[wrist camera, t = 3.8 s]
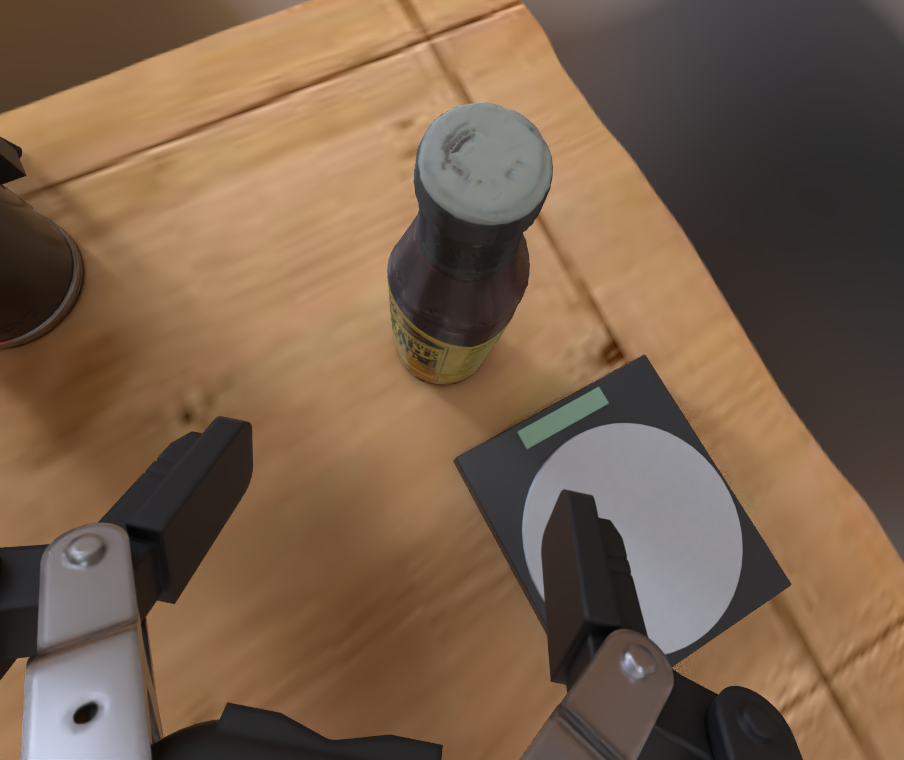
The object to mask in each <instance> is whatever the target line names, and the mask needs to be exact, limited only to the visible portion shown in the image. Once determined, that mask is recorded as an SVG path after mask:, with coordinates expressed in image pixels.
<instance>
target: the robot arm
mask: <svg viewBox="0 0 904 760" xmlns="http://www.w3.org/2000/svg"><path fill="white" fill-rule="evenodd" d="M21 156H22V149H21V148H20V147H19V146H17V145H15V144H13V143H11V142H9V141H7V140H5V139H4V138H2V137H0V349H3V348H10V347H14V346H18V345H21V344H24V343H27V342H30V341H32V340H34V339H36V338H38V337H40V336H41V335H43V334H45V333H46V332H48V331H49V330H50V329H52V328H53V327H54V326H55V325H57V324H58V323H59V322H60V321H61V320H62V319H63V318H64V316H65V315H66V314H67V313H68V312H69V310H70V309H71V307H72V306H73V304H74V302H75V300H76V298H77V296H78V294H79V291H80V288H81V284H82V277H83V265H82V259H81V255H80V252H79V250H78V248H77V246H76V244H75V242H74V241H73V239H72V238H71V237H70V236H69V235H68V234H67V233H66V232H65V231H64V230H63V229H62V228H60V227H59V226H58V225H56V224H55V223H54V222H52V221H51V220H49V219H48V218H46V217H44V216H42V215H40V214H39V213H38V212H36V211H35V210H34V209H33V207H32V206H30V205H29V204H28V203H26V202H25V201H24V200H22V199H21V198H20V197H18V196H17V195H16V194H14V193H13V192H12V191H10V190H9V189H8V188H7V187H5V186H4V185H3V184H5V183H8V182H10V181H13V180H16V179H18V178H21V177H24V176H26V174H25V171H24V169H23V167H22V164H21V162H20V157H21ZM252 472H253V448H252V426H251V423H250V422H246V421H242V420H237V419H232V418H227V417H223V416H218V417H217V418H215V419H214V420H213V422H212V423H211V424H210V425H209V426H208V427H207V429H206V430H205V431H204V432H203V433H197V432H190V433H188V434H186V435H185V436H183V437H181V438H179V439H177V440H176V441H174V442H172V443H171V444H170V445H169V446H168V447H167V448H166V449H165V450H164V451H163V453H162V454H161V455H160V456H159V457H158V459H157V461H154V462H153V463H152V464H151V466H150V467H149V468H148V469H147V470H146V473H145V474H144V473H143V474H142V475H141V476H140V477H139V479H138V480H137V481H136V482H135V483H134V484H133V485H132V486H131V487H130V488H129V489H128V490H127V492H126V493H125V494H124V495H123V496H122V497H121V498H120V499H119V500H118V501H117V502H116V503H115V505H114V506H113V507H112V508H111V509H110V510H109V511H108V512H107V513H106V514H105V515H104V516H103V518H102V519H101V520H100V521H98V522H97V523H91V524H86V525H82V526H79V527H76V528H74V529H71V530H69V531H67V532H65V533H64V534H62V535H61V536H59V537H58V538H56V539H55V540H54V541H53V542H52V543H51V544H46V545H34V546H19V547H4V548H0V680H1V679H2V677H3V676H4V675H5V673H6V672H7V671H8V670H9V668H10V667H11V666H12V664H13V663H14V662H15V661H16V659H17V658H23V657H30V658H29V659H28V662H27V666H26V673H25V689H24V706H23V724H22V742H21V759H20V760H441V758H442V748H443V745H440V744H435V743H430V742H425V741H420V740H415V739H410V738H405V737H400V736H395V735H382V736H372V737H362V738H352V739H343V740H330V739H327V738H325V737H323V736H322V735H320V734H318V733H316V732H314V731H312V730H311V729H309V728H307V727H305V726H303V725H302V724H300V723H298V722H296V721H294V720H292V719H291V718H289V717H287V716H285V715H283V714H282V713H278V712H273V711H268V710H263V709H258V708H253V707H248V706H243V705H238V704H233V703H228V702H227V704H226V706H225V709H224V711H223V713H222V715H221V717H220V719H219V720H211V721H206V722H202V723H198V724H194V725H192V726H189V727H186V728H183V729H181V730H179V731H176V732H174V733H172V734H170V735H168V736H166V737H163V730H162V724H161V718H160V713H159V707H158V701H157V694H156V686H155V679H154V671H153V663H152V655H151V648H150V640H149V632H148V624H147V618H146V616H147V614H148V613H149V611H150V610H151V608H152V607H153V605H154V604H155V602H156V601H162V602H167V603H172V604H175V603H176V601H177V600H178V598H179V596H180V595H181V593H182V592H183V590H184V589H185V587H186V585H187V584H188V582H189V581H190V579H191V577H192V576H193V574H194V573H195V571H196V570H197V568H198V566H199V565H200V563H201V562H202V560H203V558H204V557H205V555H206V554H207V552H208V551H209V549H210V547H211V546H212V544H213V543H214V541H215V539H216V538H217V536H218V535H219V533H220V532H221V530H222V528H223V527H224V525H225V524H226V522H227V521H228V519H229V517H230V516H231V514H232V513H233V511H234V509H235V508H236V506H237V505H238V503H239V502H240V500H241V498H242V497H243V495H244V494H245V492H246V490H247V488H248V486H249V483H250V480H251V477H252ZM541 559H542V572H543V585H544V598H545V611H546V624H547V638H548V651H549V664H550V677H551V682H555V683H560V684H565V685H567V695H566V696H565V698H564V699H563V700H562V702H561V703H560V704H559V705H558V706H557V707H556V708H555V710H554V711H553V712H552V714H551V715H550V717H549V718H548V719H547V721H546V722H545V724H544V725H543V726H542V728H541V729H540V731H539V732H538V734H537V735H536V736H535V738H534V739H533V741H532V742H531V743H530V745H529V746H528V748H527V749H526V751H525V752H524V753H523V755H522V756H521V758H520V759H519V760H803V759H802V756H801V754H800V751H799V748H798V746H797V743H796V741H795V738H794V736H793V733H792V731H791V729H790V727H789V726H788V724H787V722H786V721H785V719H784V718H783V716H782V715H781V714H780V713H779V711H778V710H777V709H776V708H775V707H774V706H773V705H772V704H771V703H770V702H769V701H767V700H766V699H765V698H764V697H762V696H761V695H759V694H758V693H756V692H754V691H752V690H750V689H747V688H744V687H740V686H730V687H727V688H725V689H723V690H722V691H721V693H720V694H719V695H718V694H716V693H714V692H712V691H710V690H708V689H706V688H705V687H703V686H701V685H699V684H697V683H695V682H693V681H691V680H689V679H687V678H686V677H684V676H682V675H680V674H679V673H677V672H676V671H675V670H673V669H672V667H671V665H670V662H669V660H668V659H667V657H666V655H665V654H664V652H663V651H662V650H661V649H660V648H659V646H658V645H657V644H656V643H654V642H653V641H652V640H651V639H649V637H648V634H647V631H646V627H645V623H644V619H643V615H642V611H641V608H640V604H639V600H638V596H637V592H636V588H635V584H634V580H633V576H631V569H630V565H629V561H628V560H627V553H626V549H625V545H624V542H623V538H622V536H621V535H620V533H619V532H618V530H617V529H616V528H615V526H614V525H613V523H612V522H611V520H608V519H604V518H599V517H598V512H597V507H596V503H595V499H594V497H593V495H590V494H585V493H580V492H575V491H571V490H566V489H563V490H562V491H561V492H560V494H559V497H558V499H557V501H556V504H555V506H554V508H553V511H552V513H551V516H550V518H549V520H548V523H547V525H546V527H545V530H544V533H543V538H542V545H541Z"/></svg>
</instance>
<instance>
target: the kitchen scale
mask: <svg viewBox="0 0 904 760" xmlns="http://www.w3.org/2000/svg"><path fill="white" fill-rule="evenodd" d="M454 463H455V465H456V467H457V469H458V471H459V473H460V474H461V476H462V478H463V480H464V482H465V484H466V486H467V487H468V489H469V491H470V493H471V495H472V497H473V499H474V500H475V502H476V504H477V506H478V508H479V510H480V512H481V513H482V515H483V517H484V519H485V521H486V523H487V525H488V526H489V528H490V530H491V532H492V534H493V536H494V538H495V539H496V541H497V543H498V545H499V547H500V549H501V551H502V552H503V554H504V556H505V558H506V560H507V562H508V564H509V565H510V567H511V569H512V571H513V573H514V575H515V577H516V578H517V580H518V582H519V584H520V586H521V588H522V589H523V591H524V593H525V595H526V597H527V599H528V601H529V602H530V604H531V606H532V608H533V610H534V612H535V614H536V615H537V617H538V619H539V621H540V623H541V625H542V627H543V628H544V630H545V632H546V634H547V624H546V611H545V598H544V585H543V572H542V559H541V545H542V538H543V533H544V530H545V527H546V525H547V523H548V520H549V518H550V516H551V513H552V511H553V508H554V506H555V504H556V501H557V499H558V497H559V494H560V492H561V491H562V490H563V489H566V490H571V491H575V492H580V493H585V494H590V495H593V497H594V499H595V503H596V507H597V512H598V517H599V518H604V519H608V520H611V522H612V523H613V525H614V526H615V528H616V529H617V530H618V532H619V533H620V535H621V536H622V538H623V542H624V545H625V549H626V553H627V560H628V561H629V565H630V569H631V576H633V580H634V584H635V588H636V592H637V596H638V600H639V604H640V608H641V611H642V615H643V619H644V623H645V627H646V631H647V634H648V637H649V639H651V640H652V641H653V642H654V643H656V644H657V645H658V646H659V648H660V649H661V650H662V651H663V652H664V654H665V655H666V657H667V659H668V660H669V662H670V665H671V667H673V666H674V665H676V664H677V663H679V662H680V661H681V660H683V659H684V658H686V657H687V656H689V655H690V654H692V653H693V652H695V651H696V650H697V649H699V648H700V647H702V646H703V645H705V644H706V643H708V642H709V641H711V640H712V639H713V638H715V637H716V636H718V635H719V634H721V633H722V632H724V631H725V630H727V629H728V628H729V627H731V626H732V625H734V624H735V623H737V622H738V621H740V620H741V619H743V618H744V617H745V616H747V615H748V614H750V613H751V612H753V611H754V610H756V609H757V608H759V607H760V606H761V605H763V604H764V603H766V602H767V601H769V600H770V599H772V598H773V597H775V596H776V595H777V594H779V593H780V592H782V591H783V590H785V589H786V588H788V587H789V586H791V583H790V581H789V580H788V578H787V576H786V575H785V573H784V572H783V570H782V569H781V567H780V565H779V564H778V562H777V561H776V559H775V558H774V556H773V554H772V553H771V551H770V550H769V548H768V547H767V545H766V543H765V542H764V540H763V539H762V537H761V536H760V534H759V532H758V531H757V529H756V528H755V526H754V525H753V523H752V521H751V520H750V518H749V517H748V515H747V514H746V512H745V510H744V509H743V507H742V506H741V504H740V503H739V501H738V500H737V498H736V496H735V495H734V493H733V492H732V490H731V489H730V487H729V485H728V484H727V482H726V481H725V479H724V478H723V476H722V474H721V473H720V471H719V470H718V468H717V467H716V465H715V463H714V462H713V460H712V459H711V457H710V456H709V454H708V452H707V451H706V449H705V448H704V446H703V445H702V443H701V441H700V440H699V438H698V437H697V435H696V434H695V432H694V430H693V429H692V427H691V426H690V424H689V423H688V421H687V420H686V418H685V416H684V415H683V413H682V412H681V410H680V409H679V407H678V405H677V404H676V402H675V401H674V399H673V398H672V396H671V394H670V393H669V391H668V390H667V388H666V387H665V385H664V383H663V382H662V380H661V379H660V377H659V376H658V374H657V372H656V371H655V369H654V368H653V366H652V365H651V363H650V361H649V360H648V358H647V357H646V355H642V356H641V357H639V358H637V359H635V360H633V361H632V362H630V363H628V364H626V365H624V366H622V367H621V368H619V369H617V370H615V371H613V372H611V373H610V374H608V375H606V376H604V377H602V378H601V379H599V380H597V381H595V382H593V383H591V384H590V385H588V386H586V387H584V388H582V389H580V390H579V391H577V392H575V393H573V394H571V395H570V396H568V397H566V398H564V399H562V400H560V401H559V402H557V403H555V404H553V405H551V406H550V407H548V408H546V409H544V410H542V411H540V412H539V413H537V414H535V415H533V416H531V417H529V418H528V419H526V420H524V421H522V422H520V423H519V424H517V425H515V426H513V427H511V428H509V429H508V430H506V431H504V432H502V433H500V434H499V435H497V436H495V437H493V438H491V439H489V440H488V441H486V442H484V443H482V444H480V445H478V446H477V447H475V448H473V449H471V450H469V451H468V452H466V453H464V454H462V455H460V456H458V457H457V458H456V459H455V460H454Z"/></svg>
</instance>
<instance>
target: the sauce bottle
mask: <svg viewBox="0 0 904 760" xmlns="http://www.w3.org/2000/svg"><path fill="white" fill-rule="evenodd" d="M552 175H553V165H552V156H551V153H550V150H549V148H548V146H547V144H546V142H545V141H544V139H543V138H542V136H541V134H540V132H539V131H538V129H537V128H536V126H535V125H534V124H533V123H531V122H530V121H529V120H528V119H527V118H525V117H524V116H523V115H521V114H520V113H518V112H516V111H513V110H509V109H506V108H504V107H502V106H499V105H495V104H491V103H472V104H466V105H461V106H457V107H455V108H453V109H451V110H449V111H447V112H445V113H443V114H441V115H440V116H439V117H438V118H437V119H435V120H434V121H433V123H432V124H431V125H430V127H429V128H428V130H427V131H426V133H425V134H424V136H423V138H422V140H421V143H420V145H419V147H418V149H417V156H416V164H415V170H414V186H415V194H416V197H417V200H418V203H419V212H418V215H417V216H416V218H415V219H414V220H413V222H412V223H411V225H410V226H409V228H408V229H407V231H406V232H405V233H404V235H403V236H402V238H401V239H400V240H399V242H398V243H397V244H396V245H395V247H394V249H393V250H392V252H391V255H390V258H389V261H388V269H387V273H388V277H387V278H388V287H389V299H390V301H389V302H390V312H391V320H392V329H393V338H394V345H395V349H396V352H397V354H398V356H399V358H400V360H401V362H402V363H403V365H404V366H405V367H406V368H407V369H408V370H409V371H410V372H411V373H412V374H414V375H415V376H416V377H417V378H418V379H420V380H421V381H423V382H429V383H435V384H453V383H457V382H460V381H461V380H463V379H465V378H467V377H469V376H470V375H472V374H473V373H475V372H476V371H477V370H478V369H479V367H480V366H481V365H482V363H483V362H484V360H485V359H486V357H487V356H488V354H489V353H490V351H491V350H492V348H493V347H494V345H495V344H496V342H497V341H498V339H499V338H500V336H501V334H502V333H503V331H504V330H505V328H506V327H507V325H508V323H509V322H510V320H511V319H512V317H513V315H514V312H515V310H516V308H517V306H518V304H519V303H520V301H521V299H522V297H523V295H524V292H525V289H526V287H527V286H528V278H529V268H530V263H529V253H528V248H527V243H526V240H525V237H524V235H523V232H524V231H526V230H527V229H528V228H529V226H531V225H532V224H533V222H534V220H535V219H536V218H537V216H538V215H539V213H540V211H541V209H542V206H543V204H544V202H545V199H546V197H547V194H548V192H549V190H550V186H551V181H552Z"/></svg>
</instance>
